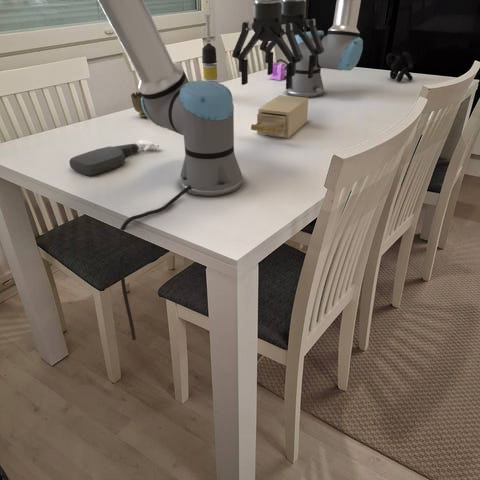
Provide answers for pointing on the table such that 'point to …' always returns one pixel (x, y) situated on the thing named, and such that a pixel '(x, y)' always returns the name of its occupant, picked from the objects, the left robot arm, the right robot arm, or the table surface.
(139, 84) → the left robot arm
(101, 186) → the table surface
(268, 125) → the drawer
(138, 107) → the olive irregular piece
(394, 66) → the squiggle
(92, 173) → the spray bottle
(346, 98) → the table surface
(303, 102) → the wooden box
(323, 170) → the table surface
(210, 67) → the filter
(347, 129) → the table surface
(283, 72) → the bracket
